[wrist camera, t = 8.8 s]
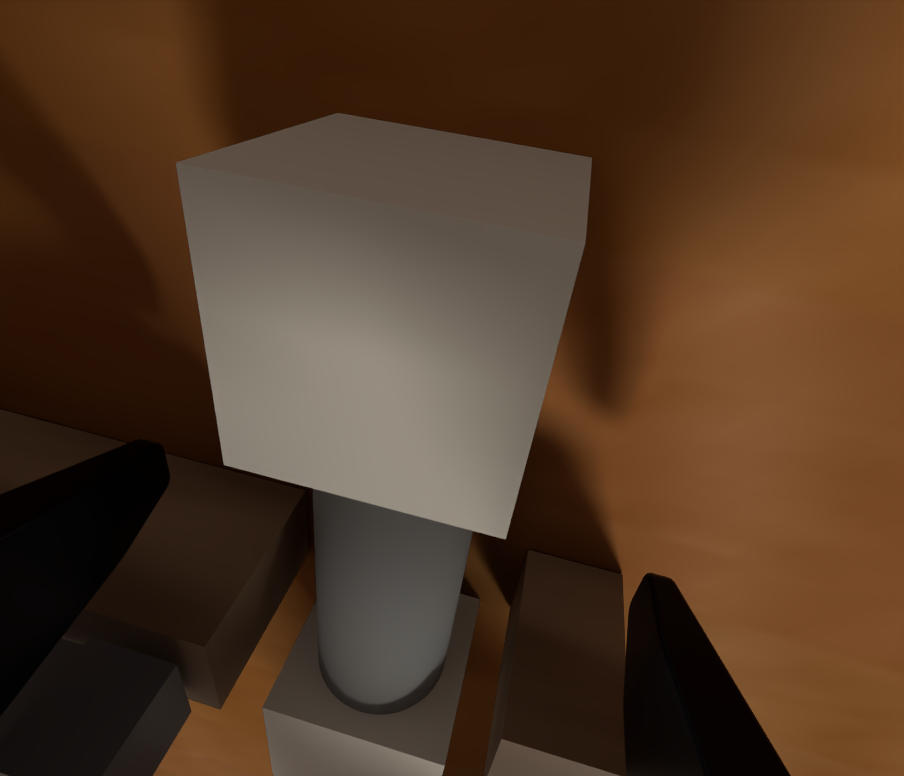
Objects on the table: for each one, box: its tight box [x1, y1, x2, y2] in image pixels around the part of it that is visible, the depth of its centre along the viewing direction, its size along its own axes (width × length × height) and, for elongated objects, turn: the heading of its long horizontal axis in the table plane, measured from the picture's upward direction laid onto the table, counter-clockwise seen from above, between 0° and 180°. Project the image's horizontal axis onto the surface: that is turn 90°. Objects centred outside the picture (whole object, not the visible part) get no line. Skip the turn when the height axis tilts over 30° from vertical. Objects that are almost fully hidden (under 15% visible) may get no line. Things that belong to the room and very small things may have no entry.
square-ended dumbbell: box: [176, 113, 592, 776], centre depth 11 cm, size 15×4×4 cm, turn 173°
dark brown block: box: [0, 409, 626, 776], centre depth 13 cm, size 2×22×4 cm, turn 83°
